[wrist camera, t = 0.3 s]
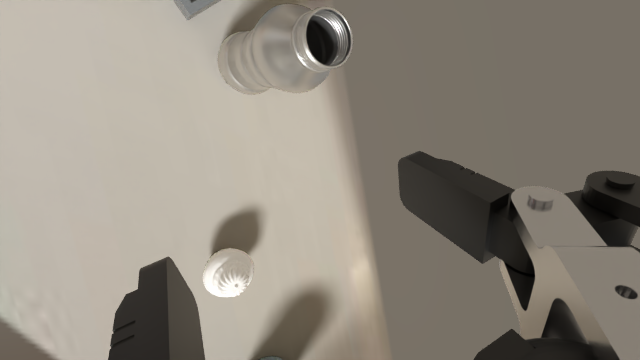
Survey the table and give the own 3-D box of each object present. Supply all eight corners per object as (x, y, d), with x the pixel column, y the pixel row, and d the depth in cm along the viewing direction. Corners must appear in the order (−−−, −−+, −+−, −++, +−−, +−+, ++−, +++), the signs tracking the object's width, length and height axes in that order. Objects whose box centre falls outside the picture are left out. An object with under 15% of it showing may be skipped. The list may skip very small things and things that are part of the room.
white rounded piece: (188, 257, 38) (196, 286, 32) (231, 229, 40) (247, 252, 34) (214, 290, 41) (226, 323, 35) (253, 262, 43) (271, 288, 37)
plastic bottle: (235, 22, 35) (321, -50, 18) (279, 65, 38) (386, 38, 21) (201, 67, 34) (257, 36, 17) (249, 106, 38) (336, 113, 21)
